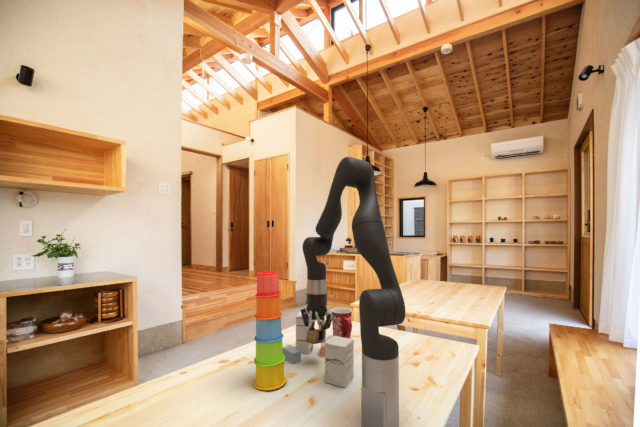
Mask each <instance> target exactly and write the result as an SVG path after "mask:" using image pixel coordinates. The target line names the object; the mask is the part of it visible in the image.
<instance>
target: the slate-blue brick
mask: <svg viewBox="0 0 640 427" xmlns="http://www.w3.org/2000/svg"><path fill="white" fill-rule="evenodd" d="M283 354H284V355H285V360H284V361H286V362H288V363H290V364H292V365H296V364H298V363H301V362H302V353H301V350H299V349H297V348H296V346H295V347H294V346H292V345H290V344H289V345H285V346H283Z"/></svg>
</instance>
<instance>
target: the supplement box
mask: <svg viewBox="0 0 640 427" xmlns="http://www.w3.org/2000/svg"><path fill="white" fill-rule="evenodd" d="M327 340H328V341H326V342H325V357H324V383H326V384H331V385H335V386H338V387H341V388H344V389H345V388H347V386H348V385H349V384H350V382H351V381H352V380H353V378H354V347H355V346H354V343H355V342H354V341H355V340H354V339H353V338H351V339H349V338H344V337H339V336H331V337H329V339H327Z"/></svg>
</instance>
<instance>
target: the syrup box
mask: <svg viewBox="0 0 640 427" xmlns="http://www.w3.org/2000/svg"><path fill="white" fill-rule="evenodd" d="M308 315H309V313H308ZM306 320H307V319H306ZM307 330H309V328H308V326H305V325H304V321H303V318H302V314H301V311H299V312H298V313H297V315H296V316H295V348H297V349H299V350H301V354H304V355H310V354H311V353H312V351H313V349H314V344H311V343H307V342H306V337H307Z"/></svg>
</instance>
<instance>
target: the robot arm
mask: <svg viewBox="0 0 640 427" xmlns="http://www.w3.org/2000/svg"><path fill="white" fill-rule="evenodd" d="M376 185H377V184H376V176H375V171H374V168H373V166H372V164H371V163H370V162H368V161H366V160H362V159H359V158H355V157H352V156H345V157H343V158H342V159H341V160H340V161H339V163H338V165H337V168H336V170H335V172H334V175H333V178H332V183H331V185H330V189H329V193H328V195H327V196H328V197H327V200H326V203H325V206H324V208H323V210H322V213H321V215H320V217H319V219H318V221H317V222H316V225H315V232H316V234H317V235H318V236H308V237H306V238H305V239H304V241H303V242H302V253H303V257H304V261H305V264H306V272H307V273H306V275H307V276H306V278H307V279H306V280H307V281H306V307H305V308H302V309H300V312H301V314H302V318H303V321H304V325H305V326H308V328H309V330H314V329H316V328H315V326H316V323H317V325H318V329H319V341H323V340H324V338H325V339H326V336H325V331H327V330H328V329H330V328H331V325H332V319H333V316H334V314H333V313H332V312H331V313H330V312H329V311H328V308H327V305H328V285H327V284H328V283H327V265H326V263H324V262H320V261H318V259H317V257H323V256H326V255H328V254H329V252H330V251H331V250H332V246H333V241H334V235H335V233H336V231H337V229H338V227H339V225H340V223H341V221H342V216H343V213H342V212H343V210H342V209H343V208H342V194H343V191H344V190H345V189H346V187H350V188H354V189H357V190H356V191H357V192H358V193H357V194H358V198H359V199H358V200H359V204H358V207H357V209H356V210H355V213H354V215H353V218H352V221H351V232H352V237H353V242H354V245H355V246H354V247H356V250H357V251H358V253H359V254H360V256H362V258H363V259H364V261H366V262H367V264H368V265H369V266H370V267H371V268H372V269H373V271H374V272H375V275H376V276H377V278H378V281H379V284H380V288H372V289H371V288H369V289H365V290H362V291H361V293H360V296H359V301H358V302H359V304H358V305H359V306H358V307H359V308H358V309H359V324H360V325H359V327H360V328H359V330H360V332H359V333H360V342H361V394H360V397H361V398H360V399H361V402H360V403H361V413H360V414H361V427H400V374H399V373H400V370H399V367H400V365H399V364H400V363H399V362H400V361H399V358H400V357H399V354H400V353H399V352H400V351H399V350H400V349H399V348H400V347H399V343H398V342H397V341H396V340H395V339H394V338H392V337H390V336H388V335H384V334H381V333H380V329H379V327H389V326H398V325H401V324H403V323H404V321H405V319H406V306H405V300H404V297H403V293H402V289H401V287H400V286H401V285H400V282H399V281H398V277H397V275H396V272H395V271H396V270H395V269H394V266H393V261H392V258H391V254H390V249H389V246H388V244H389V243H388V241H387V235H386V231H385V225H384V222H383V218H382V215H381V210H380V204H379V200H378V195H377V194H378V193H377V186H376ZM308 313H309V315H308ZM306 319H307V320H306Z"/></svg>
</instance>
